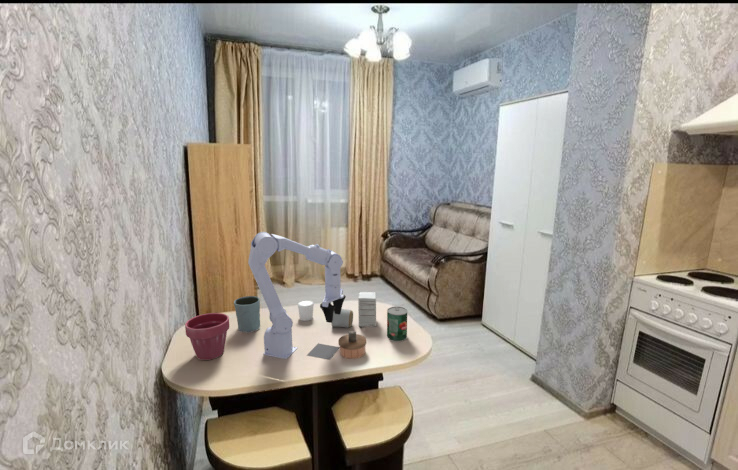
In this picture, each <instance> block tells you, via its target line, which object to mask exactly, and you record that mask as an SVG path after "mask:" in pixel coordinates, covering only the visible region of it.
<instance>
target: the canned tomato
mask: <svg viewBox="0 0 738 470" xmlns="http://www.w3.org/2000/svg"><path fill="white" fill-rule="evenodd" d="M408 313H409V311H408V309H407V308H405V307H402V306H391V307H388V308H387V310H386V338H387V339H389V340H390V341H392V342H403V341H406V340H407V337H408Z"/></svg>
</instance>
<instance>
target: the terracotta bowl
mask: <svg viewBox="0 0 738 470" xmlns="http://www.w3.org/2000/svg"><path fill="white" fill-rule="evenodd" d="M339 347H340V346H339ZM339 354H340V356H341V357H343V358H345V359H359V358H361V357H363V356H365V354H366V345H365V346H364V347H362V348H359V349H354V350H350V349H344V348H342V347H340V348H339Z"/></svg>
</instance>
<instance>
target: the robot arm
mask: <svg viewBox="0 0 738 470" xmlns="http://www.w3.org/2000/svg"><path fill="white" fill-rule="evenodd" d="M284 250H287V251H291V252H294V253H297V254H300V255H303V256H304V257H305V259H306V260H307V261H310V262H312V263H315V264H319V265H321V266H324V289H325V291H324V292H325V294H324V297H323V300H322V302H320V304H319V307H320V309H321V310H322V312H323V315H324V318H325V321H326V323H330V324H331V323H332V321H333V313H335V314H339V315H340V313H341V309H343V304H344V301H345V300H346V295H345V294H344V288H341V286H342V283H341V268H342V267H343V264H344V260H343V258H342V256H341V255H340V254H338V253H337V252H335V251H334V250H332V249H330V248H327V249H326V248H324V247H321V245H319V244H318V243H315V244H310V245H304V244H303V243H299V242H297V241H294V240H291V239H289V238H287V237H286V236H285V237H284V236H281V235H278V234H274V233H271V234H270V233H268V232H266V231H260V232H258V233H257V234H255V236H254V237H253V238H252V240H251V241H250V249H249V255H248V261H247V263H248V266H249V269H250V270H251V273H252V275H253V278H254V280H255V281H256V284H257V286H258V289H259V290H260V293H261V295H262V297H263V300H264V302H265V304H266V307H267V310H268V312H269V316H268V318H269V320H270V322H271V323H272V324H271V326H269V327H267V328H266V329H265V331H264V335H263V345H264V346H263V347H264V352H263V356H264V355H265V356H268V357H274V358H279V359H284V360H287V359H288V358H289V357H290V356H291V355H292V354H294V353H295V351H296V350H298V347H297V346H293V326H294V322H293V319H292V318H291V317H290V315H289V314H288V312H287V310H286V309H285V307H284V306H283V305H282V302H281V299H280V298H279V295H278V293H277V291H276V288H275V285H274V283H273V282H272V279H271V277H270V274H269V272H268V269H267V268H266V263H267V262H268V261H269V259H270V258H271V257H272V256H273V255H274V254H275V253H276V251H277V252H282V251H284Z"/></svg>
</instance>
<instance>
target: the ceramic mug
mask: <svg viewBox="0 0 738 470" xmlns="http://www.w3.org/2000/svg"><path fill="white" fill-rule="evenodd" d="M353 321H354V312H353V310H351V309H347V308H342V309H341V313H340V315H339V314H335V313H333V321H332V323H330V324H331V326H332V327H333V328H334V327H336V328H351V327H352V325H353V323H354V322H353Z"/></svg>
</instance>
